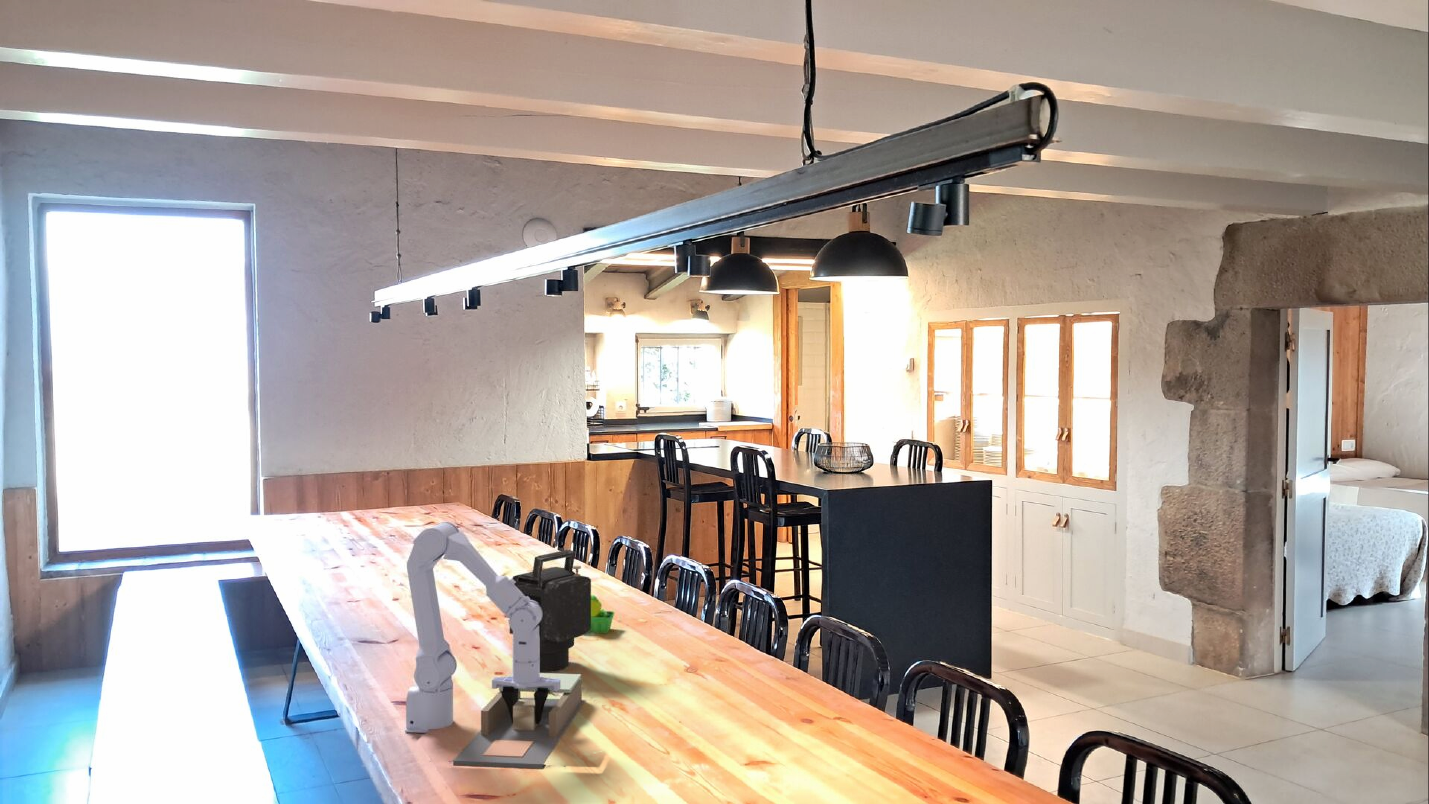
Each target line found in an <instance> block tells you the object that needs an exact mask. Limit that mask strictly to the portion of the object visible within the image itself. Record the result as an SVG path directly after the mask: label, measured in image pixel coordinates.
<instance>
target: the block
mask: <svg viewBox="0 0 1429 804" xmlns="http://www.w3.org/2000/svg"><path fill="white" fill-rule="evenodd" d="M537 725H538V724H535V700H524V699H519V700H518V701H517V702H516V703H515V705H514V706H513V730H534V729H535V728H536V727H537Z"/></svg>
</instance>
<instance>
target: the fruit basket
mask: <svg viewBox="0 0 1429 804" xmlns="http://www.w3.org/2000/svg"><path fill="white" fill-rule="evenodd" d="M602 605H603V604H602V603H601V601H600V600H599V599H598V597H596V596H595V594H594V595H593V594H591V629H590V631H589V632H588V633H587V634H590V633H591V632H593V634H594V633H595V634H607V633H609V630H610V629H611V626H612V623H613V618H614V616H615V611H613V610H609V611H608V610H605V609H603V608H602Z"/></svg>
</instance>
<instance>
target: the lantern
mask: <svg viewBox="0 0 1429 804" xmlns="http://www.w3.org/2000/svg"><path fill="white" fill-rule="evenodd" d="M575 556H576V552H575V551H574V550H571V549H565V550H559V551H556V552H551V553H546V554H541V555H537V556H534V561H533V567H532V571H530V572H526V573H519V574H516V575H513V576H512V577H511V578H512V579H513V580H514V581H515V582H516V583H515V584H514V585H515V586H516V587H517V588H518V589H519V590H520V591H521V592H522V593H523V594H524V596H526V597H527V596H528V597H529V598H530V600H533V601H536V602H537V603H538V604H539V606H540V607H541V609H542V619H541V621H540V623H539V624H538V625H539V637H540V673H555V672H560V671H563V670H564V669H566V667H567V668H568V667H569V665H570V664H569V662H570V661H569V659H570V656H569V654H570V651H569V650H570V649H572V648H573V647H574V646H575V638H578V637H582V636H583V635H586V634H589V633H588V632H589V631H590V629H591V595H592V579H591V578H590V576H583V575H581V574H579V570H580V569H582V566H581V565H574V563H575V562H574V561H575ZM560 559H564V560H565V561H564V567H559V566H553V567H552V566H551V567H548V568H543V566H544V565H543V564H544V563H545V562H546V563H547V562H550V561H555V560H560ZM574 570H575V572H574ZM538 625H537V626H538ZM509 634H510V635H513V630H512V629H511V628H510V627H509ZM559 670H560V671H559Z"/></svg>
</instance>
